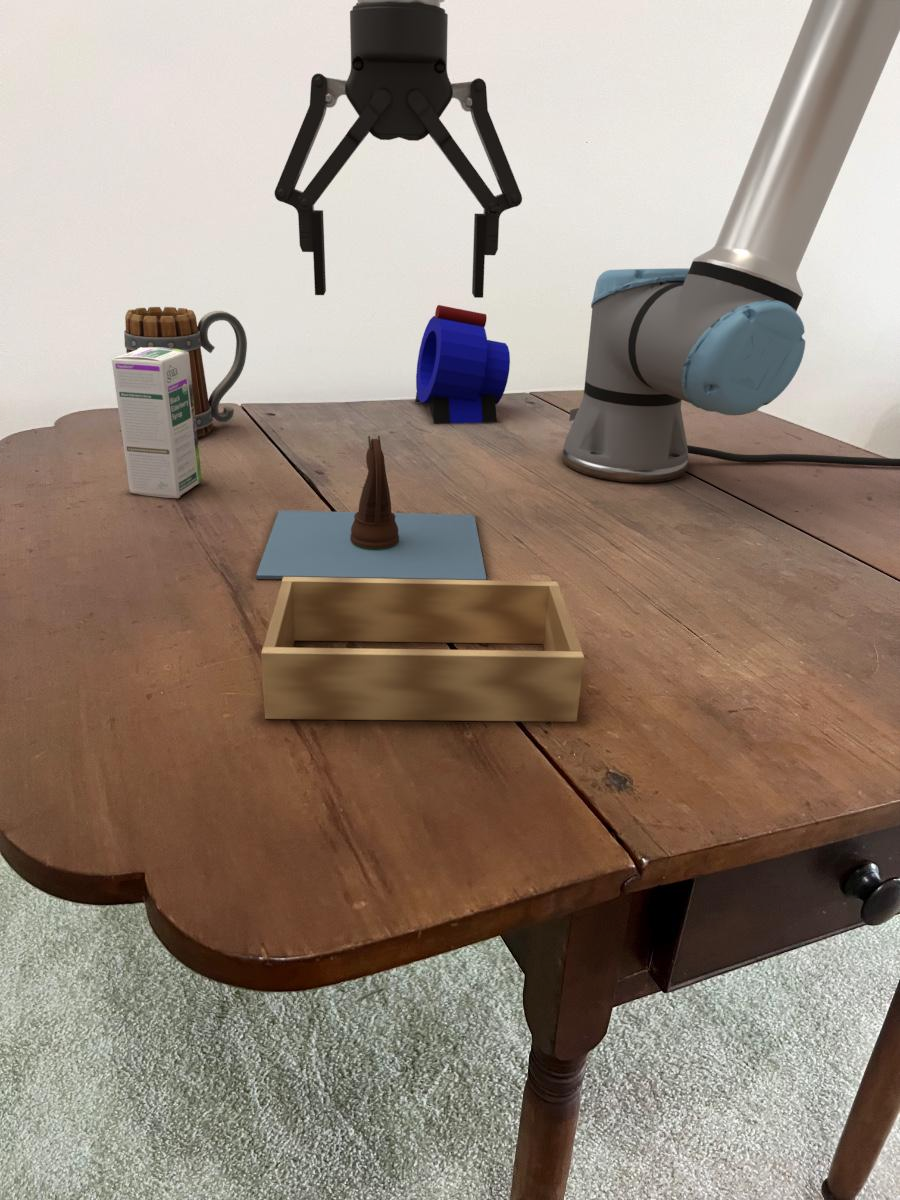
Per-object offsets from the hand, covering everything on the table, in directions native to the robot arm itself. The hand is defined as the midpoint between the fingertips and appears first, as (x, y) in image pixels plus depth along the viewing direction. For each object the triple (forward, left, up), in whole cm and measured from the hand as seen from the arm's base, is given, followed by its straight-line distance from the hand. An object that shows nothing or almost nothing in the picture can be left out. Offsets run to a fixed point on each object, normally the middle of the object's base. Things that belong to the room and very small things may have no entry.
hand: (399, 294), depth 80 cm
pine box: (-2, +27, -23) cm, 35 cm away
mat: (+2, +3, -23) cm, 23 cm away
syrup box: (+25, -12, -23) cm, 36 cm away
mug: (+27, -35, -23) cm, 50 cm away
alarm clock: (-9, -49, -23) cm, 55 cm away
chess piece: (+2, +3, -22) cm, 23 cm away
